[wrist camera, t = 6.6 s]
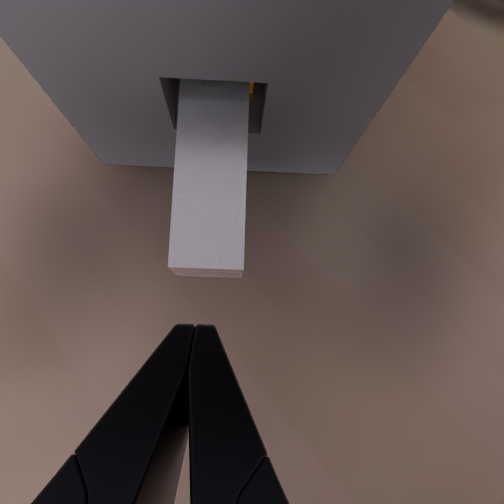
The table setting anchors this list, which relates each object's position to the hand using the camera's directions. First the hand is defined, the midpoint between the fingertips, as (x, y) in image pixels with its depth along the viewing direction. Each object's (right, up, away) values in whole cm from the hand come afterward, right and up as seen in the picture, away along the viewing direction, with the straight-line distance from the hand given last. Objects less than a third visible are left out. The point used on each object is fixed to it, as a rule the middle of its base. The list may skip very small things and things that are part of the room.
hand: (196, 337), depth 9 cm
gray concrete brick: (0, +7, +9) cm, 12 cm away
